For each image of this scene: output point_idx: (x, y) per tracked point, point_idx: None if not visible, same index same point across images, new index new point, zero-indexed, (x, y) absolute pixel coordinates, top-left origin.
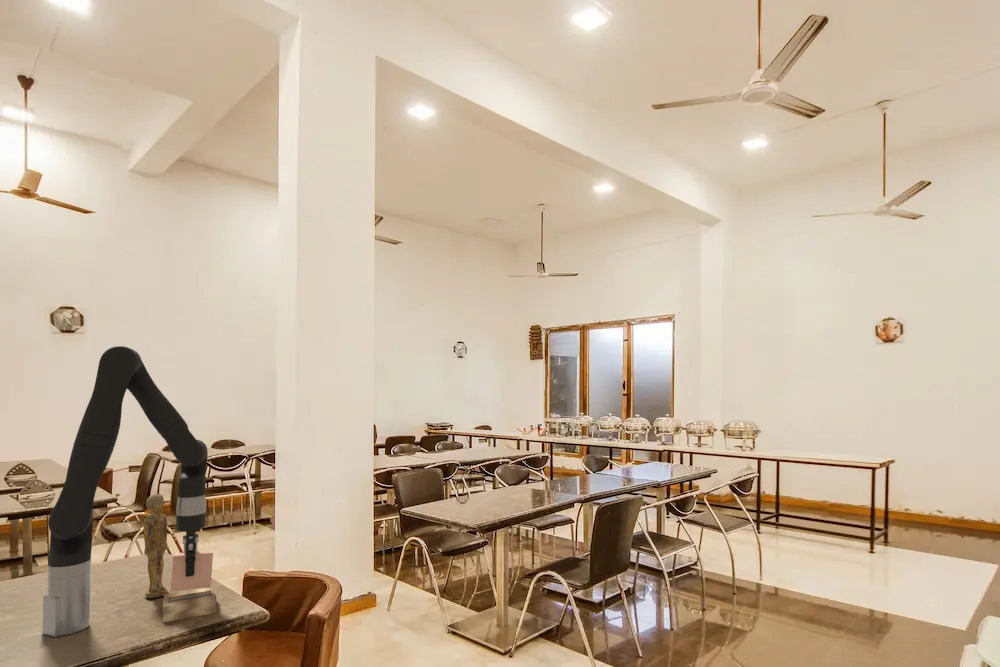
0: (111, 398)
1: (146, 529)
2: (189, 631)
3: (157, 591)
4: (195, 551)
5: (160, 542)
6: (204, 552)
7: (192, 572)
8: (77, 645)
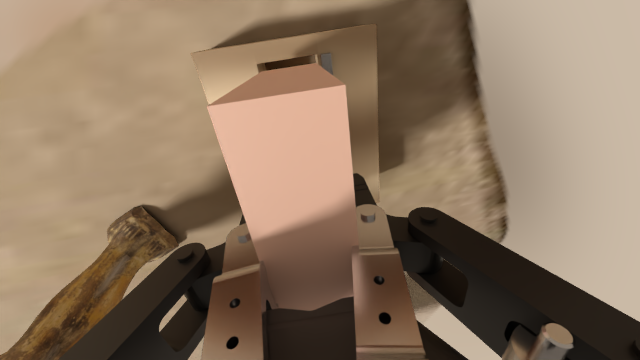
0: None
1: None
2: (479, 97)
3: (154, 241)
4: (551, 273)
5: None
6: (308, 181)
7: (363, 179)
8: (411, 286)
